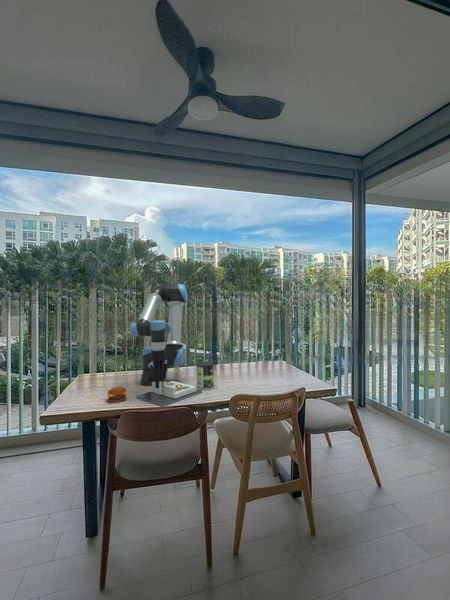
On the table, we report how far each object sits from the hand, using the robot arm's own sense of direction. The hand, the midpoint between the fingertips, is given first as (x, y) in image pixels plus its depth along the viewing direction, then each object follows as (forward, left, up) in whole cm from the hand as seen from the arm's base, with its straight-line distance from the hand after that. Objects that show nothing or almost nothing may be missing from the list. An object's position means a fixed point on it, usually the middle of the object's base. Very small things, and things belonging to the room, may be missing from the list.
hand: (159, 393), depth 162 cm
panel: (0, +10, -1) cm, 10 cm away
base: (0, +7, -3) cm, 8 cm away
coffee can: (+5, +30, -3) cm, 31 cm away
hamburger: (-17, -15, -3) cm, 23 cm away
